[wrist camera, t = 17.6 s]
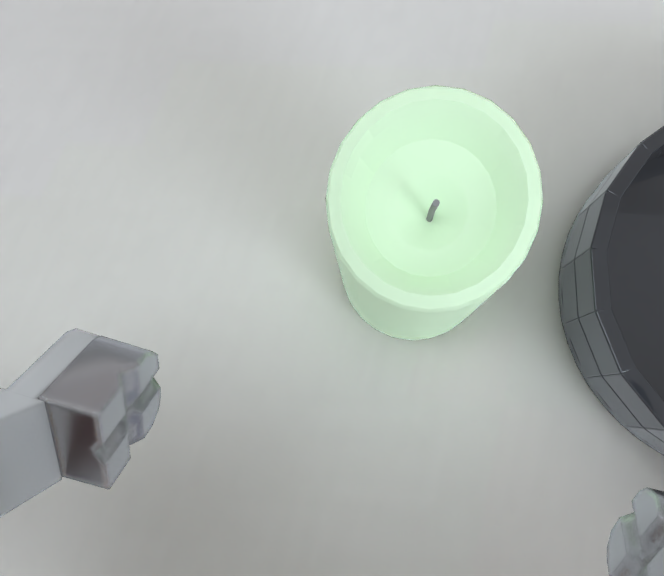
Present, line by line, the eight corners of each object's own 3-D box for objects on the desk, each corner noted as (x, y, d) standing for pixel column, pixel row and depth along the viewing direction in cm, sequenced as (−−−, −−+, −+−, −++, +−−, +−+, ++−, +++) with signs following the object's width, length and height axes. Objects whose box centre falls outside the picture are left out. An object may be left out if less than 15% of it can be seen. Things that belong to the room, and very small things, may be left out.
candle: (484, 342, 20) (559, 303, 12) (340, 338, 20) (318, 299, 12) (481, 205, 21) (549, 82, 13) (344, 204, 21) (326, 85, 13)
